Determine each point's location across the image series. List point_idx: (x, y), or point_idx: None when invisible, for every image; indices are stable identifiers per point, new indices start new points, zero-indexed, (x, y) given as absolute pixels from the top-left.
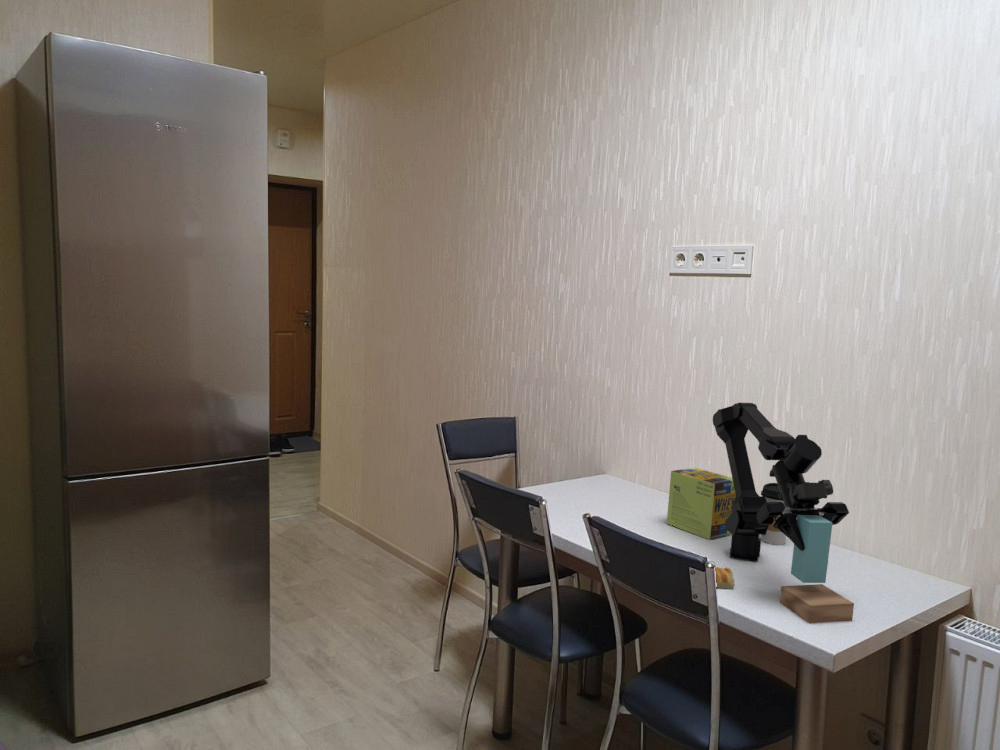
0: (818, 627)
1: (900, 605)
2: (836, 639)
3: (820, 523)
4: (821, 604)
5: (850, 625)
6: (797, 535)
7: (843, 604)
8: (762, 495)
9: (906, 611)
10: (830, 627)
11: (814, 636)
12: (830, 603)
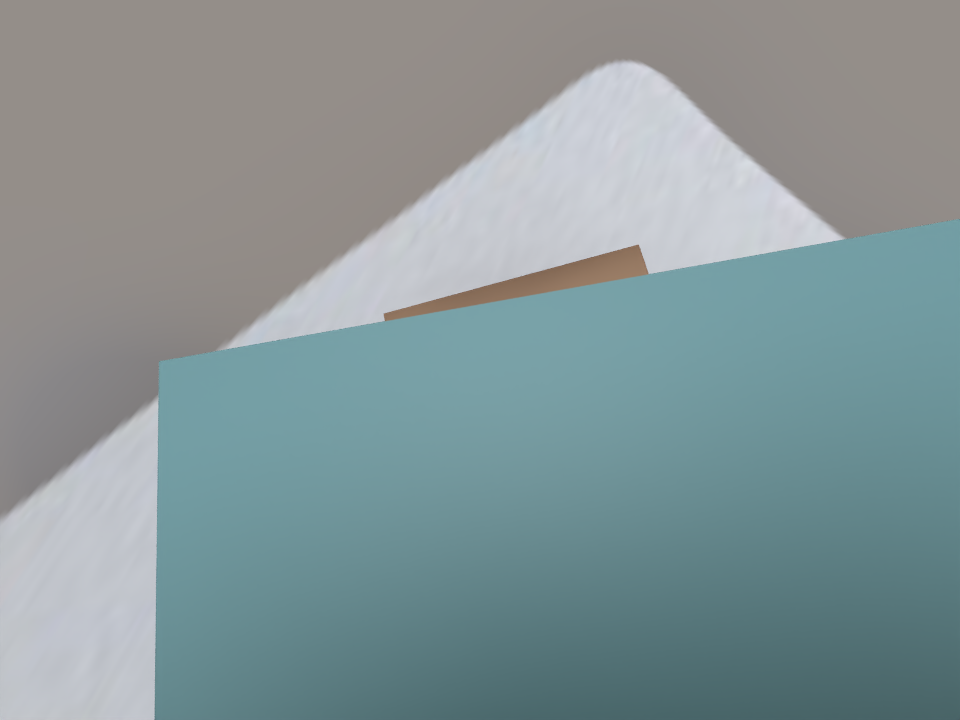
0: (595, 245)
1: (91, 537)
2: (561, 150)
3: (571, 302)
4: (570, 271)
5: (440, 286)
6: None
7: (445, 297)
8: None
9: (108, 469)
10: (540, 253)
11: (646, 159)
12: (514, 291)
